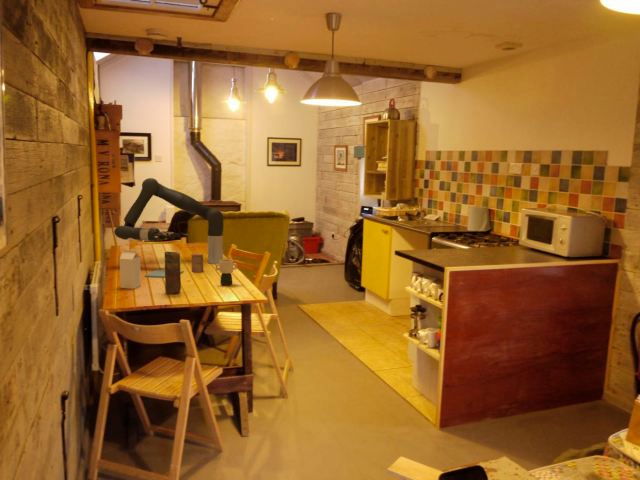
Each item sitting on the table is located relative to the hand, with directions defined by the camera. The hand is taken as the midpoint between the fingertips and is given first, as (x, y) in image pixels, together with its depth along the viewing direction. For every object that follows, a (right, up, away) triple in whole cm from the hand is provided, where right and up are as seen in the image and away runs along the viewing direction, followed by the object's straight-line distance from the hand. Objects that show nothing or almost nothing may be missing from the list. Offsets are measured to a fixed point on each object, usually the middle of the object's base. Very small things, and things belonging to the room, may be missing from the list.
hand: (176, 236), depth 309 cm
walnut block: (+12, -20, +2) cm, 23 cm away
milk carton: (-13, -26, -37) cm, 47 cm away
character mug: (+33, -26, -29) cm, 51 cm away
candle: (+11, -28, -46) cm, 55 cm away
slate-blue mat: (-5, -21, -7) cm, 23 cm away
